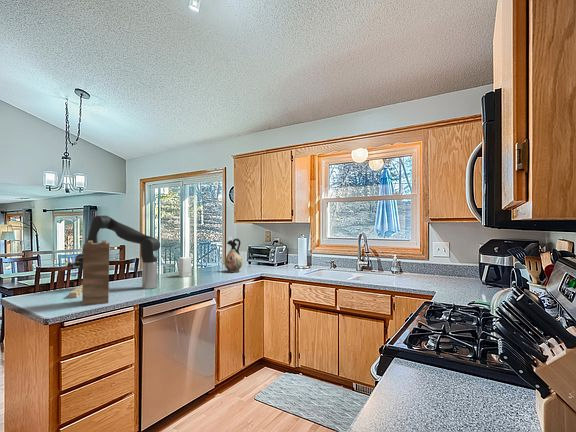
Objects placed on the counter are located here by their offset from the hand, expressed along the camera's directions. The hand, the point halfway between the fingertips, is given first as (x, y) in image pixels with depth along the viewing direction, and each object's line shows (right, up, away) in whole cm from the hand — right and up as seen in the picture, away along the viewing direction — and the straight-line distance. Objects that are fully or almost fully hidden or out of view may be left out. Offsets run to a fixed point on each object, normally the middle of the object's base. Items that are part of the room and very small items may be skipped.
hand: (80, 265), depth 203 cm
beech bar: (+2, -17, -4) cm, 17 cm away
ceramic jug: (+82, -19, +86) cm, 121 cm away
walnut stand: (+24, -16, -24) cm, 38 cm away
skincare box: (+47, -18, +60) cm, 78 cm away
